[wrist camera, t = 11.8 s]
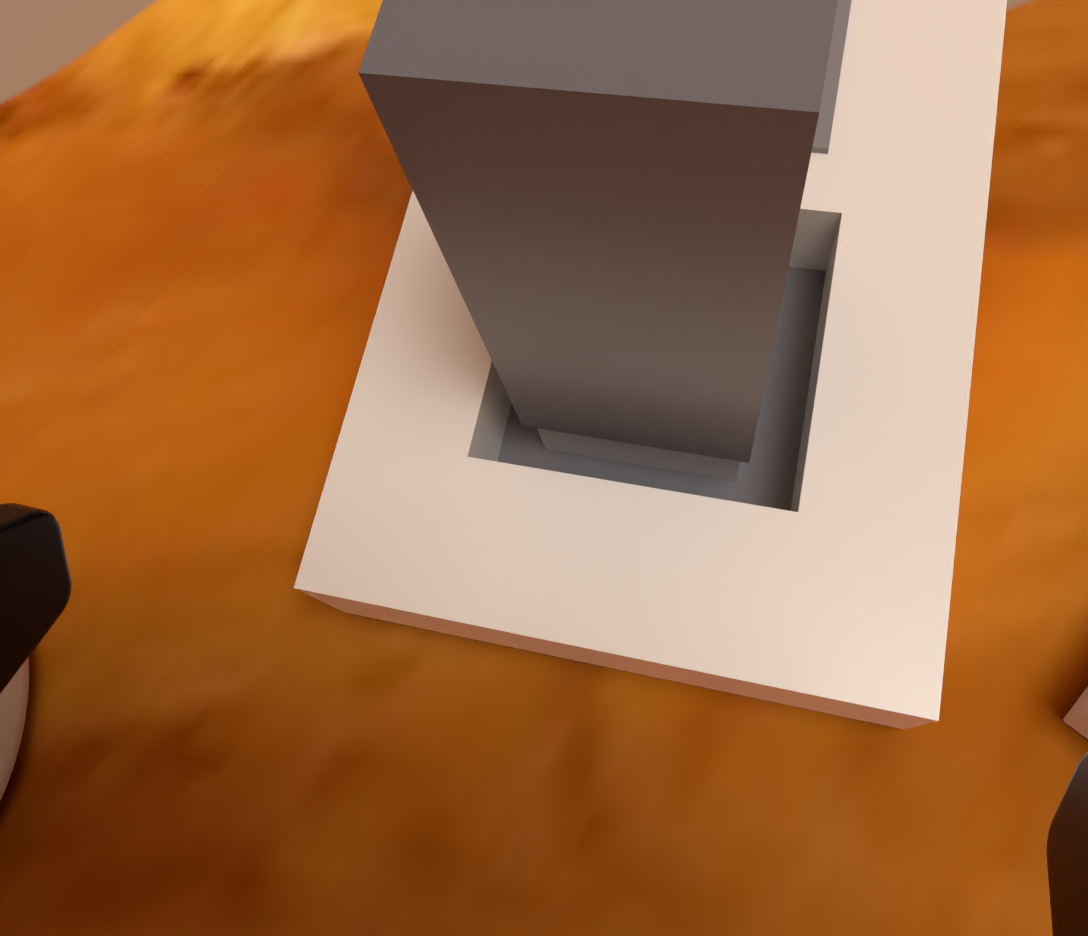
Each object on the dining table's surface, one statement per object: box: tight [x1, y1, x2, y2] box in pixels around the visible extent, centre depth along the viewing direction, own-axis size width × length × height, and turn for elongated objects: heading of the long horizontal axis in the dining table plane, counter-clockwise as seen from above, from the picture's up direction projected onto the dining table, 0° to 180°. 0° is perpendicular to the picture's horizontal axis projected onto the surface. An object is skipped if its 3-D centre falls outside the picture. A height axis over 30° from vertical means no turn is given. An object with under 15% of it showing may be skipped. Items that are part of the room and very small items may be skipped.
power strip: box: [294, 0, 1007, 729], centre depth 23 cm, size 22×13×4 cm, turn 168°
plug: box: [359, 0, 838, 481], centre depth 17 cm, size 5×5×13 cm
